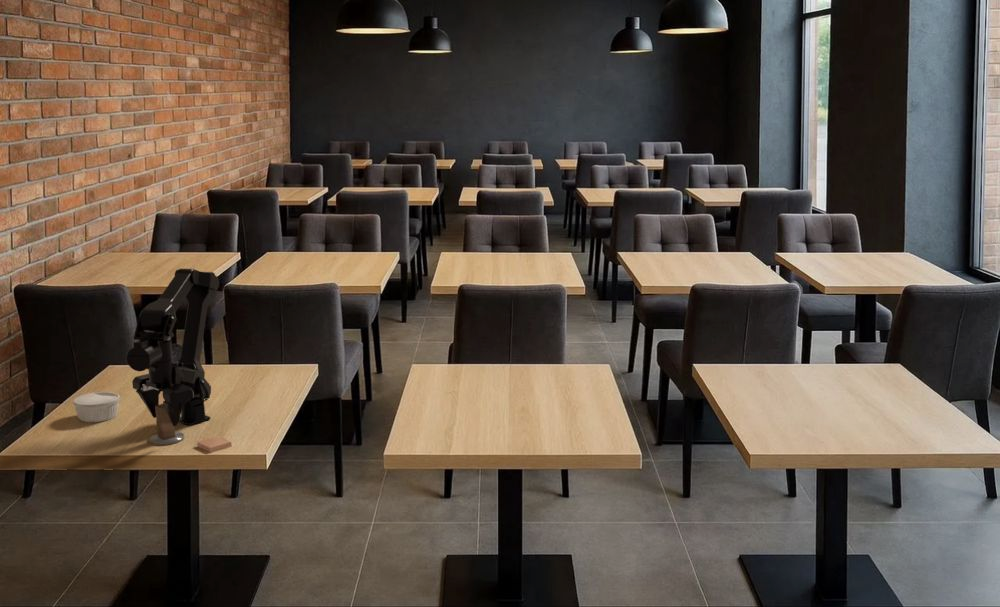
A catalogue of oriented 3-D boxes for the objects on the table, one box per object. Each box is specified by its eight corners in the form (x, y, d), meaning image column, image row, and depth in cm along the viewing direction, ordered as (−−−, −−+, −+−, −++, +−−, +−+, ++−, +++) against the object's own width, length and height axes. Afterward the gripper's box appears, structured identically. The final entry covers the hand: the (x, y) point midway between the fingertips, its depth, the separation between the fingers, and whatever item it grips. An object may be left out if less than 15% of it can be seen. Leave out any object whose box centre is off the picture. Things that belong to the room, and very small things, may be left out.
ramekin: (128, 410, 275) (127, 391, 274) (109, 425, 264) (107, 405, 263) (88, 409, 276) (86, 390, 275) (67, 423, 265) (65, 404, 264)
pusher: (157, 437, 253) (155, 406, 251) (169, 434, 255) (166, 403, 253) (164, 440, 251) (161, 408, 249) (175, 436, 253) (172, 405, 251)
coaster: (143, 439, 253) (143, 437, 253) (173, 431, 258) (173, 429, 258) (160, 447, 247) (160, 445, 247) (190, 438, 253) (190, 436, 253)
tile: (197, 441, 248) (210, 447, 244) (217, 435, 252) (231, 441, 248) (197, 448, 248) (210, 454, 244) (218, 442, 252) (231, 448, 248)
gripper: (211, 359, 248) (215, 421, 251) (170, 346, 260) (175, 405, 264) (168, 369, 240) (174, 433, 243) (128, 355, 252) (134, 416, 256)
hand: (165, 421), depth 252 cm, fingers open, 9 cm apart
